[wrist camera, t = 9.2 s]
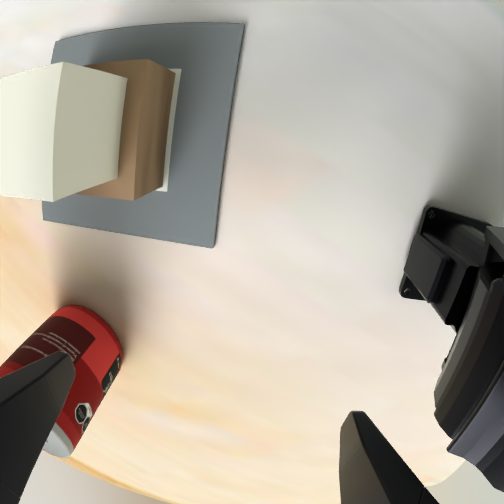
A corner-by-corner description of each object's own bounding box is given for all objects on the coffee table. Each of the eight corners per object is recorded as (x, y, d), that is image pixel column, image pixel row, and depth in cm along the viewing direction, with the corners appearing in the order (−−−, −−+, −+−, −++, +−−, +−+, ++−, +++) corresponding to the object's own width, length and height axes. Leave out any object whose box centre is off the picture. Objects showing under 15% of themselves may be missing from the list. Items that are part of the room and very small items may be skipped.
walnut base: (175, 73, 15) (148, 58, 11) (162, 186, 18) (133, 200, 14) (81, 78, 15) (43, 73, 11) (73, 178, 18) (36, 190, 14)
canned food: (92, 377, 26) (43, 455, 16) (44, 315, 23) (-24, 385, 13) (142, 363, 24) (90, 463, 14) (87, 289, 22) (2, 375, 11)
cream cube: (127, 78, 12) (62, 61, 7) (117, 178, 13) (53, 201, 9) (53, 86, 12) (-13, 83, 7) (47, 173, 14) (-18, 193, 9)
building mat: (244, 26, 14) (243, 23, 13) (214, 246, 19) (212, 248, 19) (58, 42, 14) (54, 41, 14) (46, 218, 20) (42, 220, 19)
